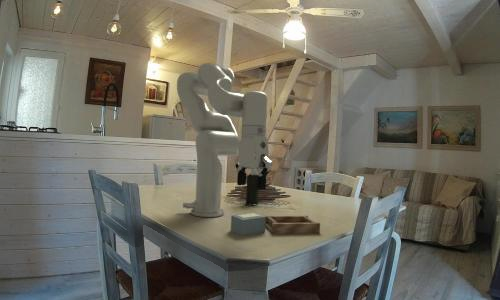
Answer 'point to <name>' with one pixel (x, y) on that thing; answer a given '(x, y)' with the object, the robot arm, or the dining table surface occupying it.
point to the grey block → (248, 223)
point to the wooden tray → (291, 224)
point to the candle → (252, 188)
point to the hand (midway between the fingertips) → (250, 187)
